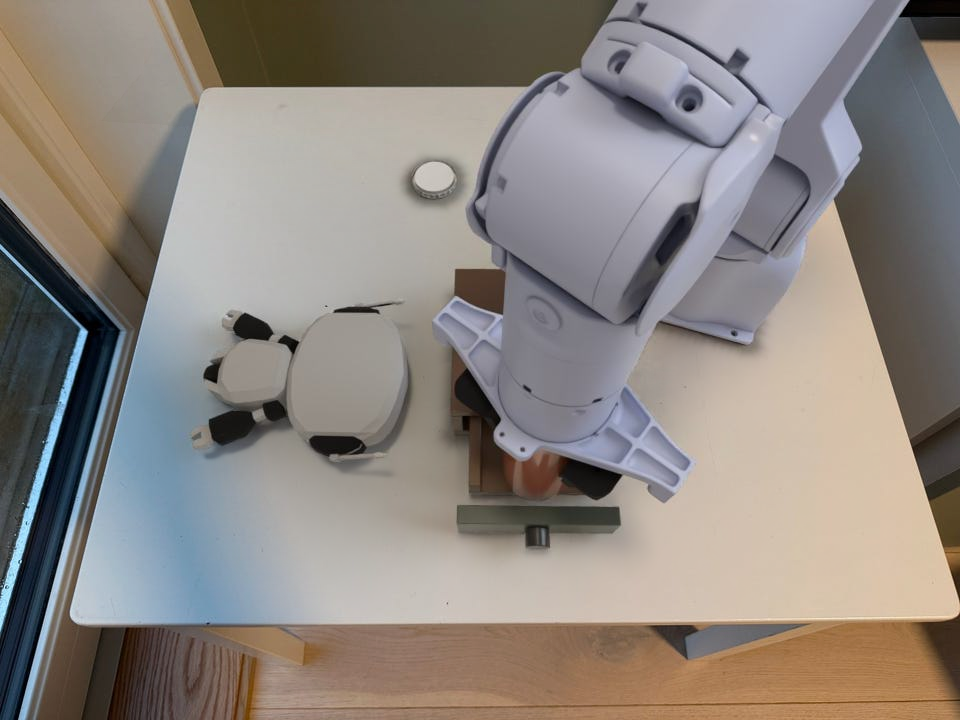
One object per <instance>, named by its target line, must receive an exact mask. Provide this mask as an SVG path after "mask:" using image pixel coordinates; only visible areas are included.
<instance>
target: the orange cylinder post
mask: <svg viewBox="0 0 960 720" xmlns="http://www.w3.org/2000/svg"><path fill="white" fill-rule="evenodd" d="M521 452H522V451H521ZM570 460H571V458H568V457H565V456H562V455H559V454H556V453H552V452H549V451H546V450H538V451H536V452H535V453H534V454H533V455H532V457H531V458H530V459H528V460H527V461H519V460H516V459H515V458H513V457H512V456H511V455H509V454H508V453H507V452H506V451H503V460H502V473H503V477H504V480H505V482H506V484H507V485H508V487H509V488H510V489H511V490H512V491H513V492H514V493H515V494H517V495H516V496H517V497H520V498H523V500H528V501H532V502H542V501H546V500H549V499H552V498H553V497H555V496H558V495H557V494H558V493H559V492H560V491H561V490H562V489H563V487H564V486H565V484H564V483H562V482H561V479H562V477H560V473H561V472H562V471H563V469H564V468H565V467H566V465H567V464H568V463H569V461H570Z"/></svg>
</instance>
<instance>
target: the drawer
mask: <svg viewBox="0 0 960 720" xmlns="http://www.w3.org/2000/svg"><path fill="white" fill-rule="evenodd" d="M468 436H469V439H468V440H469V441H468V494H469V495H489V496H490V495H492V496H493V495H495V496H497V495H499V496H500V495H501V496H502V495H503V496H518V495H517V494H515V493H514V492H513V491H512V490H511V489H510V488H509V487H508V485H507V484H506V482H505V480H504V477H503V473H502V460H503V451H504V450H503V449H502V448H500V447H499V446H498V445H497V444H496V443H495V442H494V431H493V430H492V429H491V427H490V426H489V424H488V423H487V421H486V420H485V418H481V417H480V416H470V435H468ZM556 496H586V495H584V494H583V493H582V492H580V491H579V490H578V489H576V488H575V487H571V488H569V487H567V486H566V485H565V486H564V487H563V489H562V490H561V491H560V492H559V493H558V494H557V495H556ZM586 497H587V496H586ZM456 526H457V532H458V533H483V534H484V533H493V534H494V533H495V534H496V533H497V534H500V533H501V534H524V547H525V549H527V550H529V551H530V550H532V551H545V550H549V549H550V548H551V534H583V535H584V534H585V535H586V534H587V535H588V534H589V535H590V534H591V535H592V534H593V535H595V534H597V535H600V534H601V535H612V534H614V533H615V532H616V531H617V530H618V529H619V528H620V527H621V526H622V517H621V507H620V506H594V505H593V506H592V505H591V506H585V505H583V506H581V505H577V506H575V505H495V504H494V505H489V504H488V505H487V504H485V505H484V504H482V505H479V504H458V505H456Z"/></svg>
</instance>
